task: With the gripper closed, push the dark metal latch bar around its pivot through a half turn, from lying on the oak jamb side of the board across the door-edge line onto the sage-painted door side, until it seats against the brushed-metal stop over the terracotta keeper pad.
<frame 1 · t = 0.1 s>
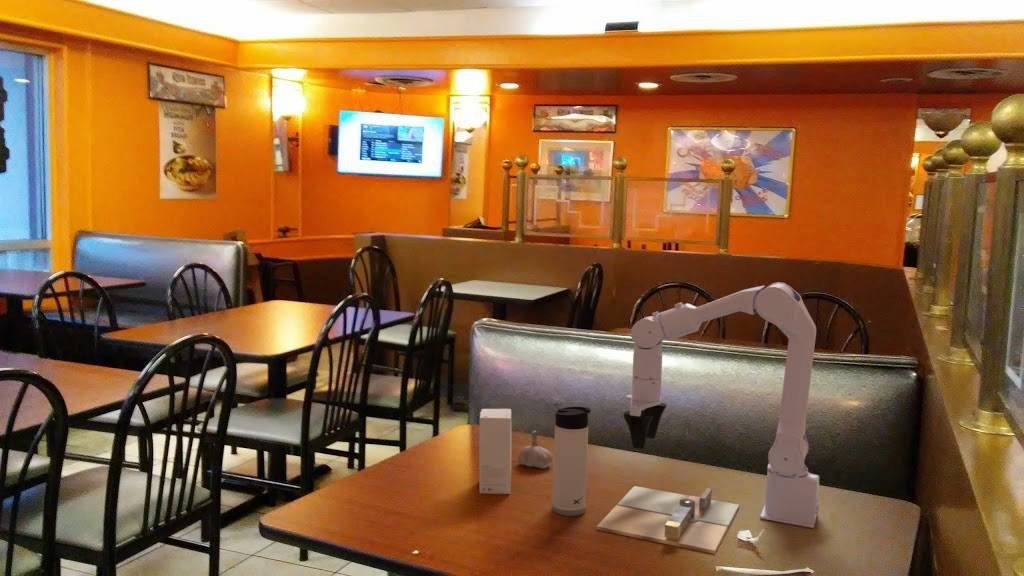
hand: (644, 442, 165), 10 cm above the table, fingers open, 7 cm apart
skincare box: (494, 488, 166), on the table
door board: (670, 518, 152), on the table
garlic bulb: (535, 467, 180), on the table
travel mug: (569, 511, 155), on the table
latch bar: (680, 517, 146), point 2 cm above the table, hinge at 0.0°
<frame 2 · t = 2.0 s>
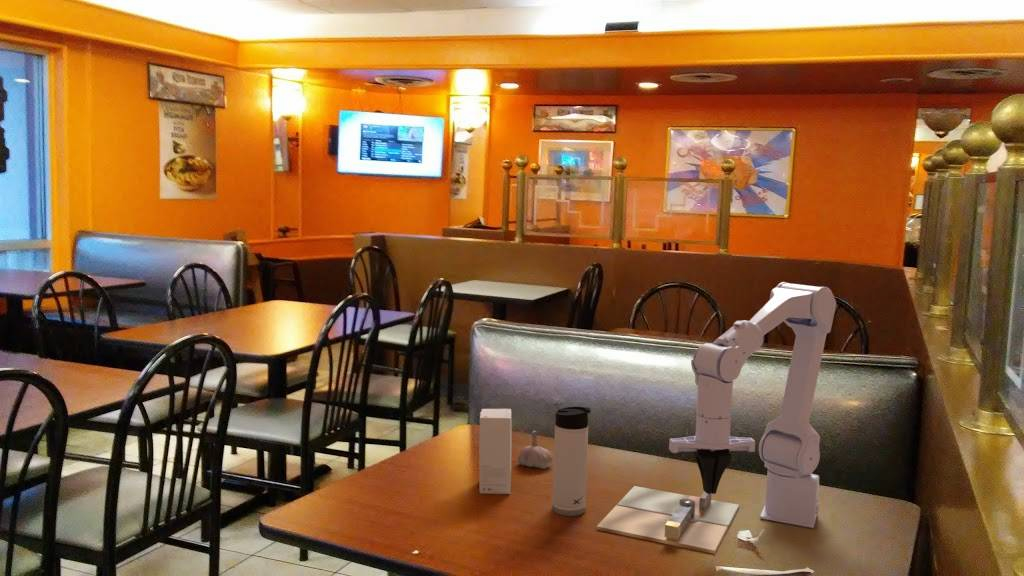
hand: (709, 491, 140), 9 cm above the table, fingers closed
nothing on the table moved.
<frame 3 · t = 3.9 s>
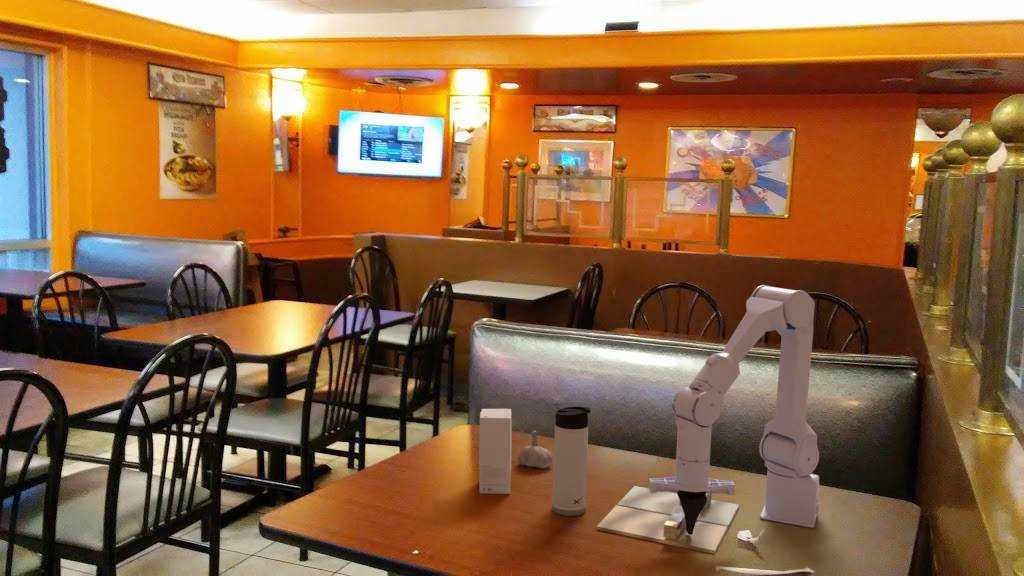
hand: (689, 532, 143), 1 cm above the table, fingers closed, pressing on latch bar
latch bar: (679, 517, 146), point 2 cm above the table, hinge at 1.1°, touching gripper
everything else where it was.
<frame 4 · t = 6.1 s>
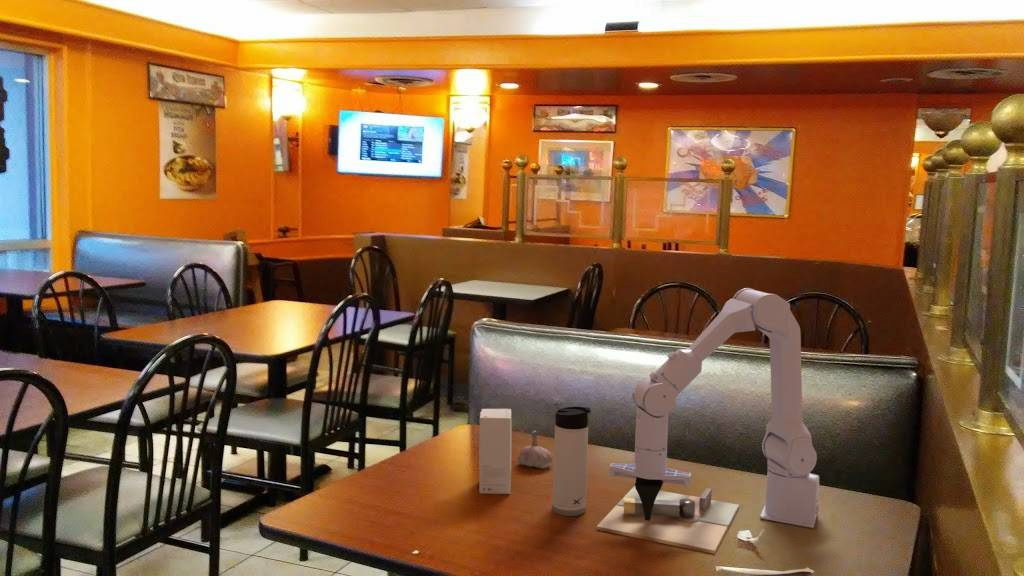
hand: (647, 518, 149), 1 cm above the table, fingers closed, pressing on latch bar
latch bar: (659, 506, 151), point 2 cm above the table, hinge at 70.1°, touching gripper
everything else where it was.
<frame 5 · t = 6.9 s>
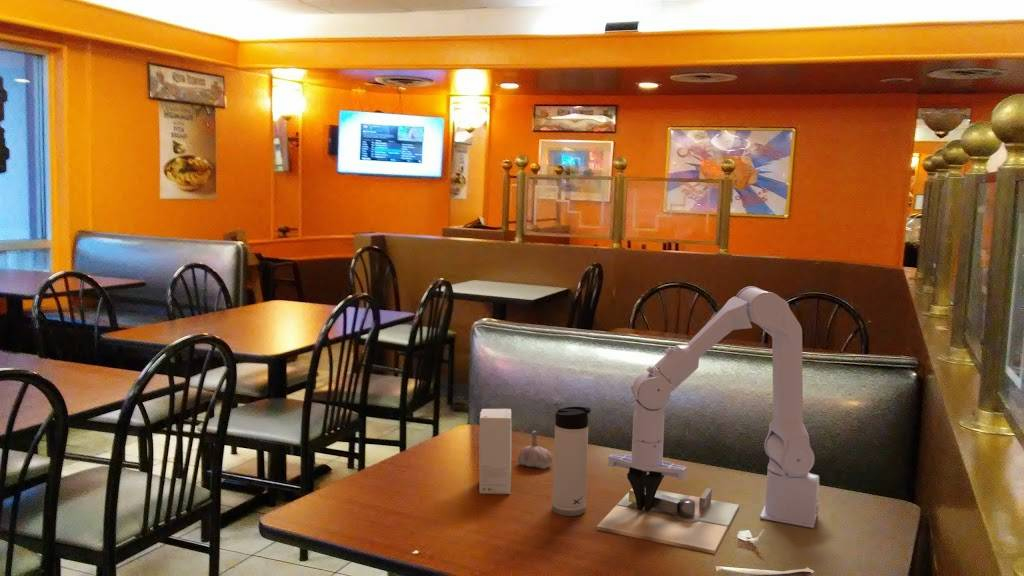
hand: (644, 508, 153), 1 cm above the table, fingers closed
latch bar: (662, 501, 154), point 2 cm above the table, hinge at 102.4°, touching gripper
everything else where it was.
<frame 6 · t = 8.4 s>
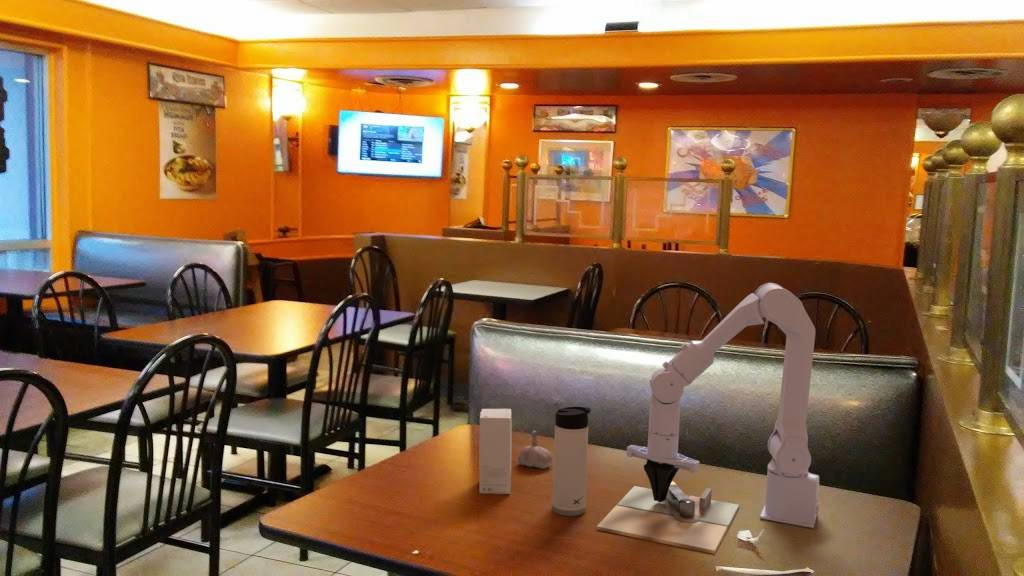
hand: (659, 499, 158), 1 cm above the table, fingers closed
latch bar: (678, 498, 156), point 2 cm above the table, hinge at 148.0°, touching gripper
everything else where it was.
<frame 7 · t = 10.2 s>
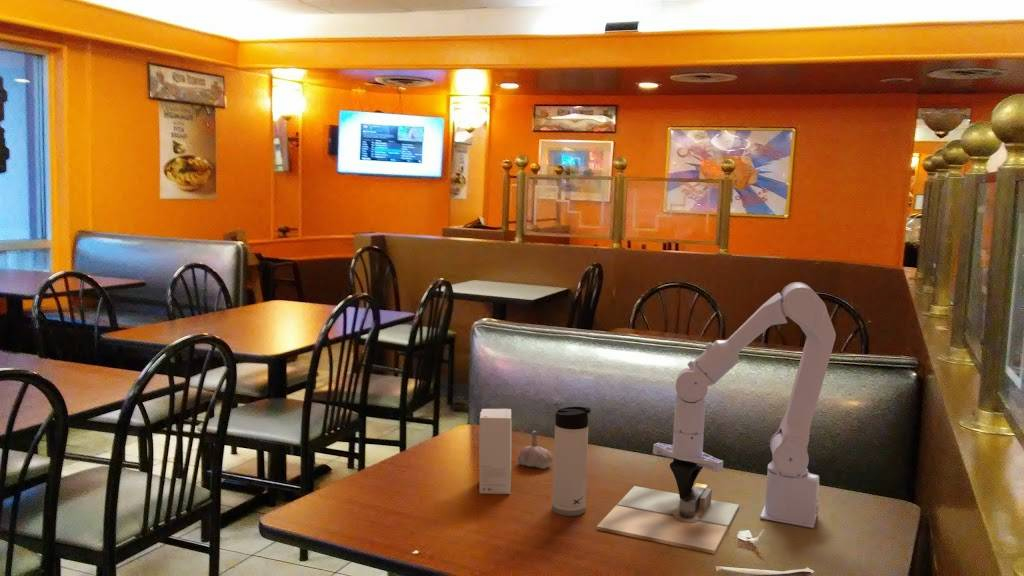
hand: (684, 498, 159), 1 cm above the table, fingers closed
latch bar: (693, 499, 155), point 2 cm above the table, hinge at 181.0°, touching gripper
everything else where it was.
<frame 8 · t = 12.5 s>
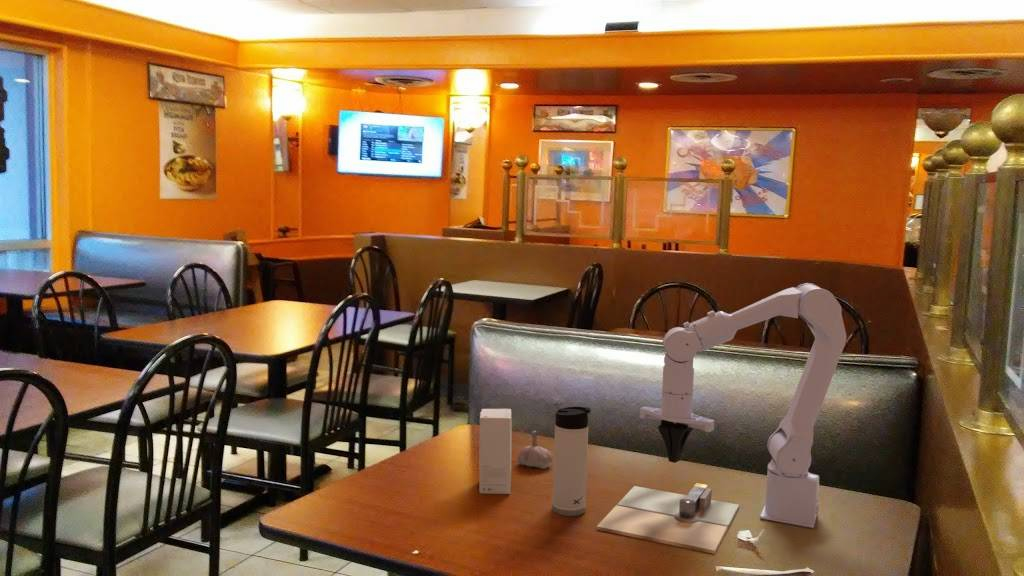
hand: (674, 460, 156), 9 cm above the table, fingers closed
latch bar: (693, 499, 155), point 2 cm above the table, hinge at 181.0°
everything else where it was.
at the end: latch bar at +181° (first picture: +0°) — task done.
